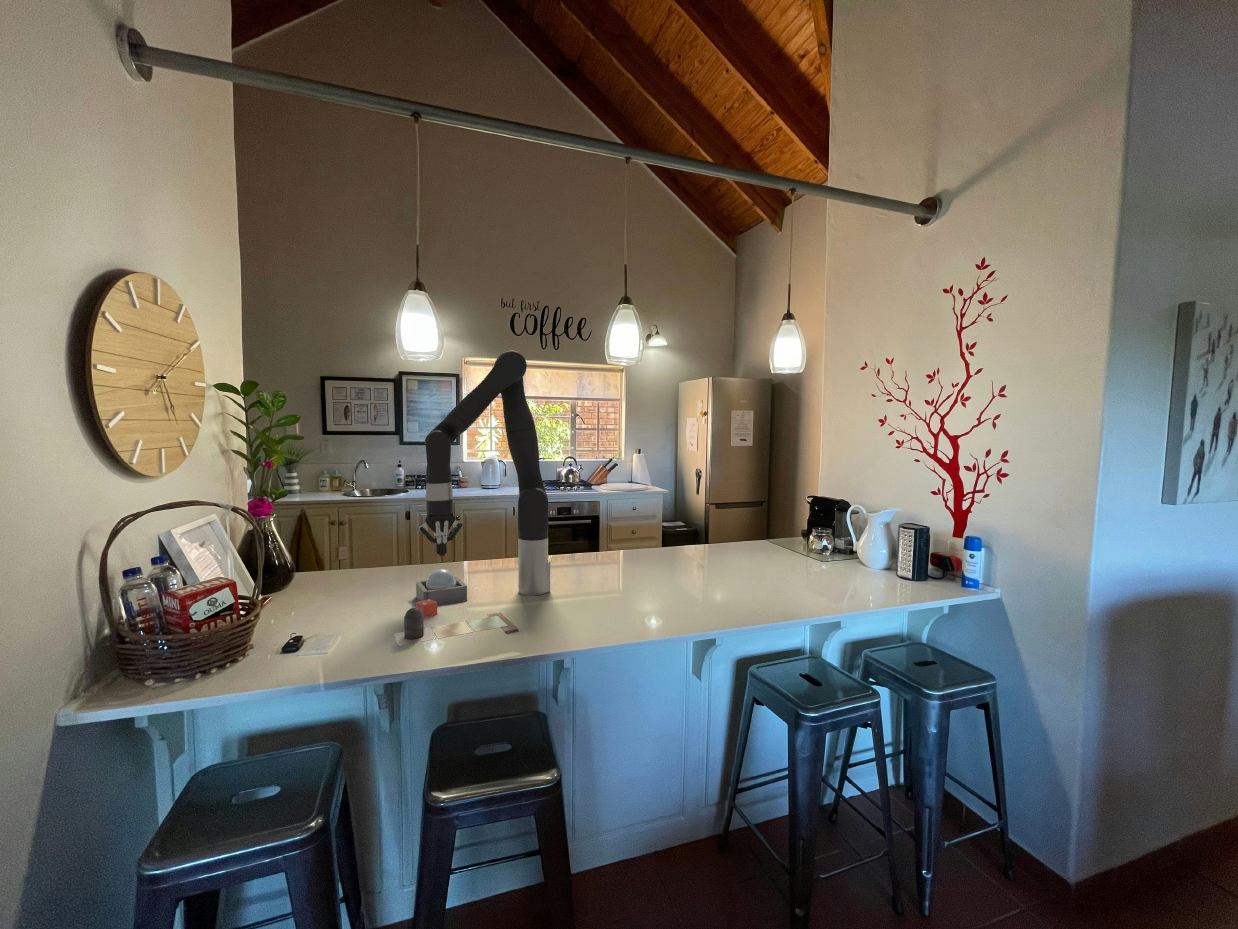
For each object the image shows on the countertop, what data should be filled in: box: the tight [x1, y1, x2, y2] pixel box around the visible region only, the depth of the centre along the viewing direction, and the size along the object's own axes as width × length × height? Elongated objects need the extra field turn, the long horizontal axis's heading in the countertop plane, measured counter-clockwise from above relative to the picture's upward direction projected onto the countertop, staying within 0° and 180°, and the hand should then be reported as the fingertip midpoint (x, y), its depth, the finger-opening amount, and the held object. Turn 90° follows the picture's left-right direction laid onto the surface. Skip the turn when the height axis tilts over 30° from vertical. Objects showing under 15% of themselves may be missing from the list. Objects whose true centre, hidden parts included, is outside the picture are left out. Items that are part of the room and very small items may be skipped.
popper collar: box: [415, 576, 468, 607], centre depth 164 cm, size 12×12×4 cm
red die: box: [415, 599, 438, 618], centre depth 148 cm, size 4×4×4 cm
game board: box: [392, 611, 520, 646], centre depth 137 cm, size 30×14×1 cm, turn 121°
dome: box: [426, 568, 456, 591], centre depth 164 cm, size 9×9×8 cm
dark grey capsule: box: [403, 607, 425, 640], centre depth 132 cm, size 4×4×7 cm
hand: (441, 555), depth 163 cm, fingers closed
